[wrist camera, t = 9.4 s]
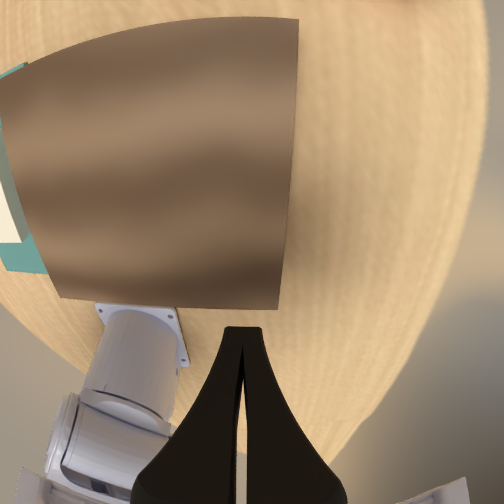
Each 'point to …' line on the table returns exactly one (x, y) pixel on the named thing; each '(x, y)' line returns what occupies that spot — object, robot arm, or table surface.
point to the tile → (10, 203)
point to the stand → (159, 161)
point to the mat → (24, 253)
